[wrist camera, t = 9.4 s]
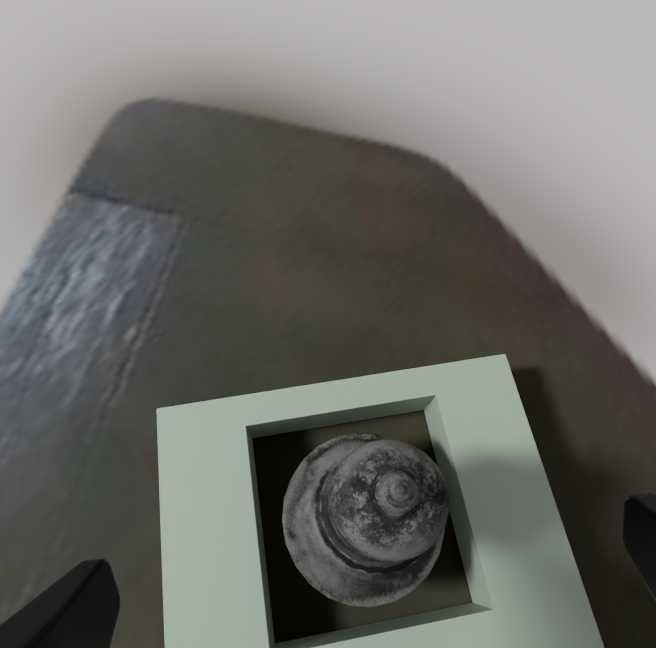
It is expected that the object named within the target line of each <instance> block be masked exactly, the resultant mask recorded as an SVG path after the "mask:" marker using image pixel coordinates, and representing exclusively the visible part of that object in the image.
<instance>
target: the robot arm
mask: <svg viewBox="0 0 656 648" xmlns="http://www.w3.org/2000/svg"><path fill="white" fill-rule="evenodd" d="M623 540H624V544H625V547H626V550H627V552H628V554H629V555H630V557H631V559H632V561H633V562H634V564H635V566H636V568H637V569H638V571H639V573H640V575H641V576H642V578H643V580H644V582H645V584H646V585H647V587H648V589H649V591H650V592H651V594H652V596H653V598H654V599H655V601H656V495H655V494H650V493H648V494H639V495H631V496H629V497H627V498H626V500H625V503H624V521H623ZM119 610H120V594H119V591H118V588H117V584H116V581H115V578H114V575H113V571H112V568H111V565H110V563H109V562H108V561H107V560H106V559H96V560H88V561H83V562H81V563H80V564H78V565H77V566H76V567H74V568H73V569H72V570H70V571H69V572H68V573H67V574H65V575H64V576H63V577H62V578H60V579H59V580H58V581H56V582H55V583H54V584H53V585H51V586H50V587H49V588H47V589H46V590H45V591H44V592H42V593H41V594H40V595H38V596H37V597H36V598H35V599H33V600H32V601H31V602H29V603H28V604H27V605H26V606H24V607H23V608H22V609H20V610H19V611H18V612H17V613H15V614H14V615H13V616H12V617H10V618H9V619H8V620H6V621H5V622H4V623H3V624H1V625H0V648H110V645H111V641H112V637H113V634H114V630H115V626H116V622H117V618H118V615H119Z"/></svg>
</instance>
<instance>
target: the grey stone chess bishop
mask: <svg viewBox="0 0 656 648" xmlns="http://www.w3.org/2000/svg"><path fill="white" fill-rule="evenodd" d="M448 513H449V492H448V488H447V485H446V482H445V478H444V476H443V475H442V473H441V471H440V470H439V468H438V466H437V465H436V464H435V462H434V461H433V460H432V459H431V458H430V457H429V456H428V455H427V454H426V453H424V452H423V451H421V450H420V449H418V448H416V447H415V446H413V445H410V444H407V443H404V442H401V441H398V440H391V439H388V438H385V437H382V436H379V435H376V434H363V433H354V434H349V435H344V436H339V437H335V438H333V439H331V440H329V441H327V442H325V443H323V444H321V445H319V446H318V447H317V448H316V449H315V450H313V451H312V452H311V453H310V454H309V455H308V456H307V457H306V458H304V459H303V461H302V462H301V464H300V465H299V467H298V468H297V470H296V471H295V473H294V474H293V476H292V477H291V480H290V483H289V486H288V488H287V491H286V494H285V497H284V506H283V516H282V523H283V529H284V536H285V542H286V545H287V548H288V550H289V552H290V555H291V557H292V559H293V562H294V564H295V566H296V567H297V568H298V570H299V571H300V572H301V574H302V575H303V576H304V577H305V579H306V580H307V581H308V583H309V584H310V585H312V586H313V587H314V588H316V589H317V590H318V591H320V592H321V593H322V594H324V595H325V596H326V597H328V598H330V599H333V600H335V601H338V602H341V603H343V604H346V605H349V606H359V607H376V606H380V605H384V604H389V603H393V602H395V601H397V600H399V599H401V598H402V597H404V596H406V595H407V594H409V593H411V592H412V591H414V590H415V589H416V588H417V587H418V586H419V585H420V583H421V582H422V581H423V580H424V579H425V578H426V577H427V576H428V575H429V574H430V572H431V570H432V568H433V566H434V564H435V562H436V560H437V558H438V556H439V554H440V550H441V545H442V541H443V536H444V532H445V529H444V527H445V526H446V522H447V517H448Z"/></svg>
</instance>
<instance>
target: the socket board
mask: <svg viewBox="0 0 656 648" xmlns="http://www.w3.org/2000/svg"><path fill="white" fill-rule="evenodd" d="M420 410H424V413H425V417H426V421H427V425H428V429H429V433H430V437H431V441H432V445H433V449H434V452H435V456H436V460H437V464H438V468H439V470H440V471H441V473H442V475H443V476H444V478H445V482H446V485H447V488H448V492H449V511H450V515H451V519H452V523H453V527H454V531H455V535H456V539H457V543H458V547H459V551H460V554H461V558H462V562H463V566H464V570H465V574H466V578H467V582H468V586H469V590H470V594H471V598H472V602H473V603H468V604H464V605H459V606H454V607H449V608H444V609H439V610H435V611H430V612H425V613H420V614H415V615H410V616H406V617H401V618H396V619H391V620H386V621H381V622H376V623H372V624H367V625H362V626H357V627H352V628H347V629H343V630H338V631H333V632H328V633H323V634H318V635H314V636H309V637H304V638H299V639H294V640H289V641H285V642H280V643H275V639H274V630H273V621H272V612H271V603H270V594H269V585H268V576H267V567H266V558H265V549H264V540H263V531H262V522H261V513H260V504H259V495H258V486H257V477H256V468H255V459H254V450H253V441H252V438H257V437H263V436H269V435H275V434H281V433H287V432H293V431H299V430H305V429H312V428H318V427H324V426H330V425H336V424H342V423H348V422H354V421H360V420H366V419H372V418H378V417H384V416H390V415H396V414H402V413H408V412H414V411H420ZM157 436H158V465H159V494H160V523H161V552H162V581H163V609H164V638H165V648H604V645H603V642H602V639H601V636H600V633H599V630H598V627H597V624H596V621H595V618H594V615H593V612H592V609H591V606H590V603H589V600H588V598H587V595H586V592H585V589H584V586H583V583H582V580H581V577H580V574H579V571H578V568H577V565H576V562H575V559H574V556H573V553H572V550H571V547H570V544H569V541H568V538H567V535H566V532H565V529H564V526H563V523H562V521H561V518H560V515H559V512H558V509H557V506H556V503H555V500H554V497H553V494H552V491H551V488H550V485H549V482H548V479H547V476H546V473H545V470H544V467H543V464H542V461H541V458H540V455H539V452H538V449H537V446H536V444H535V441H534V438H533V435H532V432H531V429H530V426H529V423H528V420H527V417H526V414H525V411H524V408H523V405H522V402H521V399H520V396H519V393H518V390H517V387H516V384H515V381H514V378H513V375H512V372H511V370H510V367H509V364H508V361H507V358H506V355H505V354H501V355H495V356H489V357H482V358H476V359H470V360H463V361H457V362H451V363H444V364H438V365H431V366H425V367H419V368H412V369H406V370H400V371H393V372H387V373H381V374H374V375H368V376H362V377H355V378H349V379H342V380H336V381H330V382H323V383H317V384H311V385H304V386H298V387H292V388H285V389H279V390H273V391H266V392H260V393H253V394H247V395H241V396H234V397H228V398H222V399H215V400H209V401H203V402H196V403H190V404H183V405H177V406H171V407H164V408H158V409H157Z"/></svg>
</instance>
